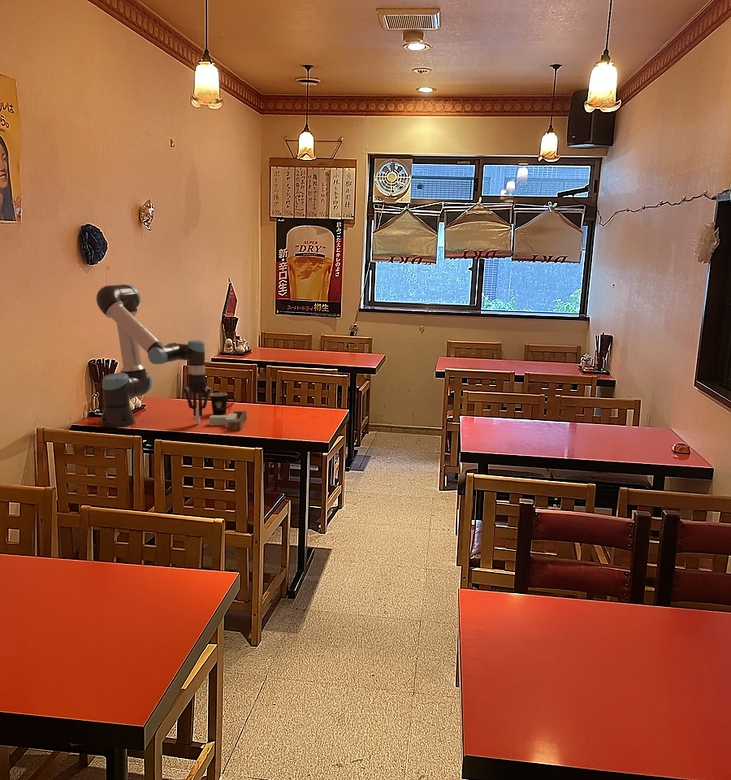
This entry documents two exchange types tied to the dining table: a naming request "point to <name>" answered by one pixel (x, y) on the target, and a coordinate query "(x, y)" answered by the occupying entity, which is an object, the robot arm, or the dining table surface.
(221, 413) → the coffee mug
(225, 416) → the tee block
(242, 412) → the fence
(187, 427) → the dining table surface
